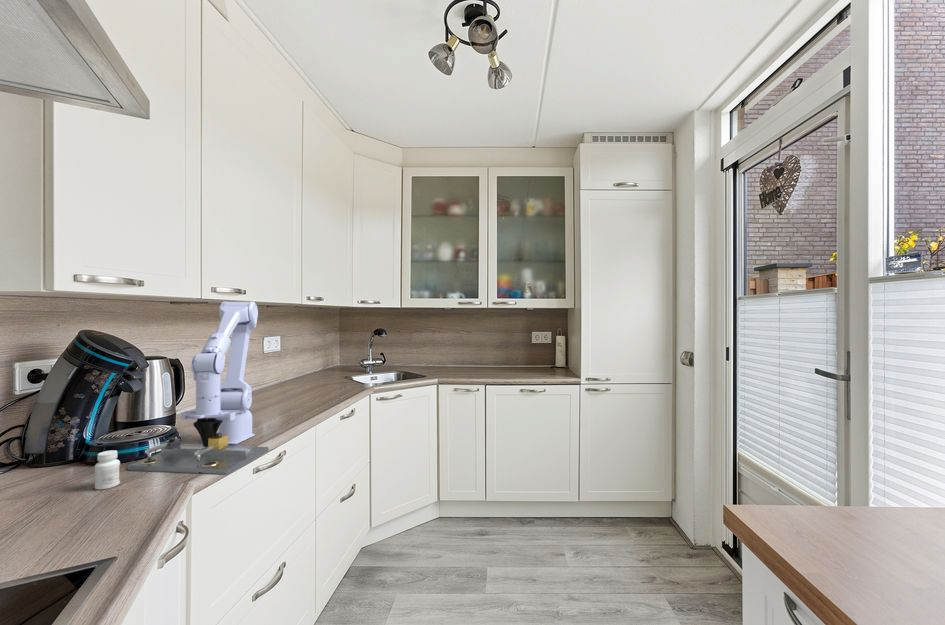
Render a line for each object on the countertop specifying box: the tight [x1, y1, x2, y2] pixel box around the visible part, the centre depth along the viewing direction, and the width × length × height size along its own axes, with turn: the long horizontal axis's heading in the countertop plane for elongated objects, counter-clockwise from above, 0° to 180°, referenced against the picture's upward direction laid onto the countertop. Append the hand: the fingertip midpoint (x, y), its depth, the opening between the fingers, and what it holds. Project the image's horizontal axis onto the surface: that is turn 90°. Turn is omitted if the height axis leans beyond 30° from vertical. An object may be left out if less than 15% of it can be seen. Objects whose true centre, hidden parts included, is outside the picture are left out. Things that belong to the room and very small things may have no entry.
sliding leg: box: [195, 432, 229, 462], centre depth 109 cm, size 10×3×5 cm, turn 174°
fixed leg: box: [144, 437, 182, 460], centre depth 111 cm, size 9×2×3 cm, turn 174°
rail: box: [160, 446, 250, 456], centre depth 113 cm, size 2×25×2 cm, turn 84°
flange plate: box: [128, 443, 269, 475], centre depth 111 cm, size 17×27×1 cm, turn 84°
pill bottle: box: [94, 450, 121, 490], centre depth 95 cm, size 4×4×8 cm
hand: (208, 445), depth 113 cm, fingers closed
